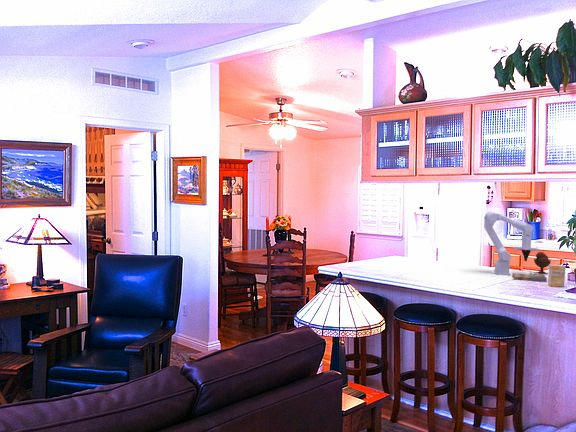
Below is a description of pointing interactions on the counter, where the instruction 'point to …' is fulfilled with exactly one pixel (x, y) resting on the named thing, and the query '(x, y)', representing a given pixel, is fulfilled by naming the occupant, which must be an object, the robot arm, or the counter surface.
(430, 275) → the counter surface
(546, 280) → the tray
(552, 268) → the supplement box
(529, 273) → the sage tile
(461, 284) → the counter surface
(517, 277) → the walnut board
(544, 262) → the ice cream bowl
